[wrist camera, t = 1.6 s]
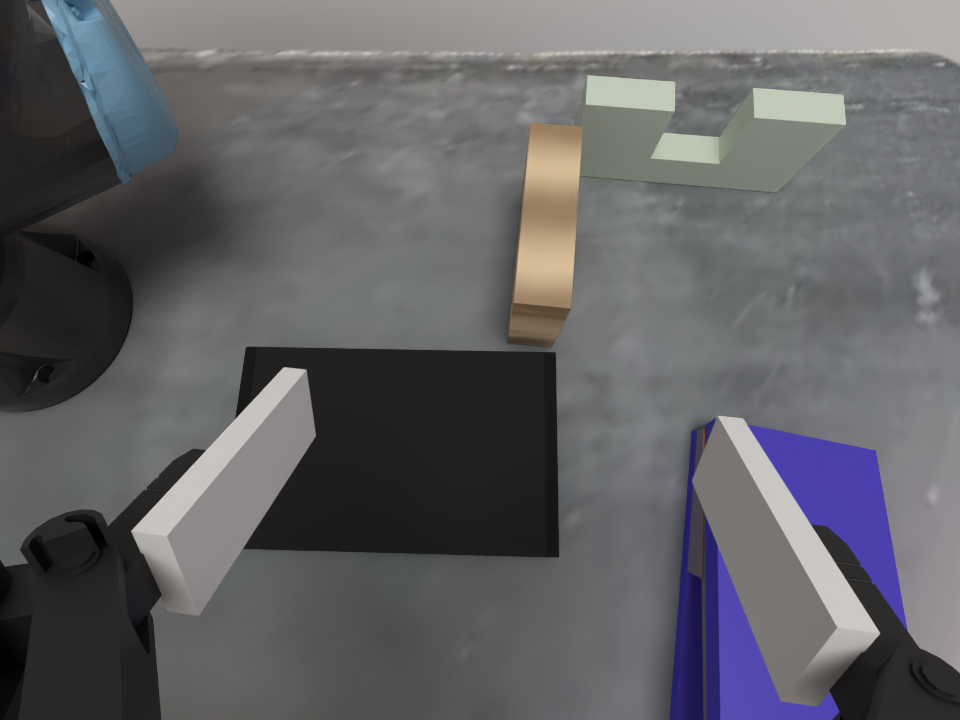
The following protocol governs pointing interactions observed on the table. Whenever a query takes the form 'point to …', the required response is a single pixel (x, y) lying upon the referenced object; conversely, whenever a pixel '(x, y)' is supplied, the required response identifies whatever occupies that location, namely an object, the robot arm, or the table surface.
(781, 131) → the green u-shaped block
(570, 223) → the tan wooden block
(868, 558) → the blue foot pedal
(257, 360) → the external hard drive
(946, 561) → the table surface
